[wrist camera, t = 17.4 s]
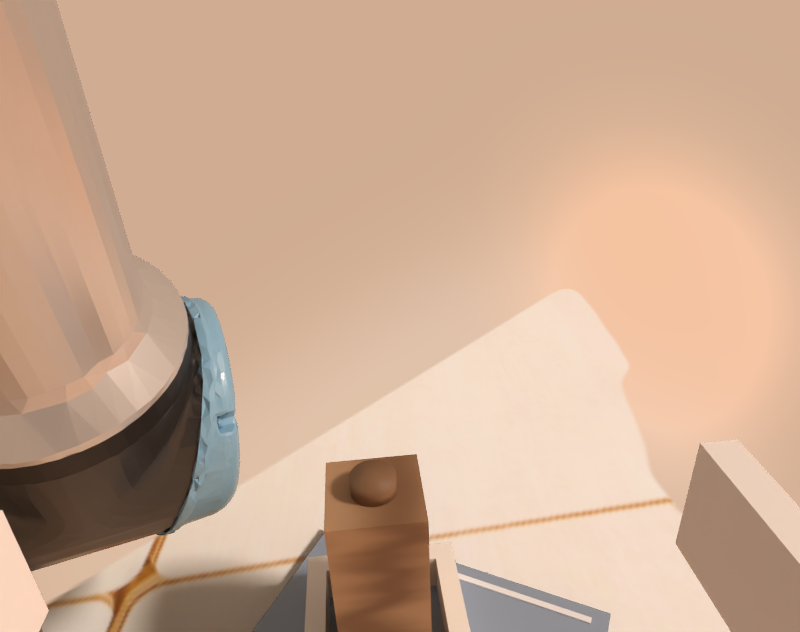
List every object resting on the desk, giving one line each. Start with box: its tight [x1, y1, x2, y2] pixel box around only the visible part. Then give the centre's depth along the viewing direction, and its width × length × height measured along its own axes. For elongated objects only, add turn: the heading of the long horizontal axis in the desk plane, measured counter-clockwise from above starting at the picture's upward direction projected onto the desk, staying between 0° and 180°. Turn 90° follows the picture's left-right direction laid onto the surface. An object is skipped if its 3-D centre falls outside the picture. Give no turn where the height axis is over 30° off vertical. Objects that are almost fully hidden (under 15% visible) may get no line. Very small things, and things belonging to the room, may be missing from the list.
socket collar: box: [304, 542, 471, 632], centre depth 36 cm, size 9×9×2 cm
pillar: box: [324, 454, 432, 632], centre depth 34 cm, size 5×5×13 cm
